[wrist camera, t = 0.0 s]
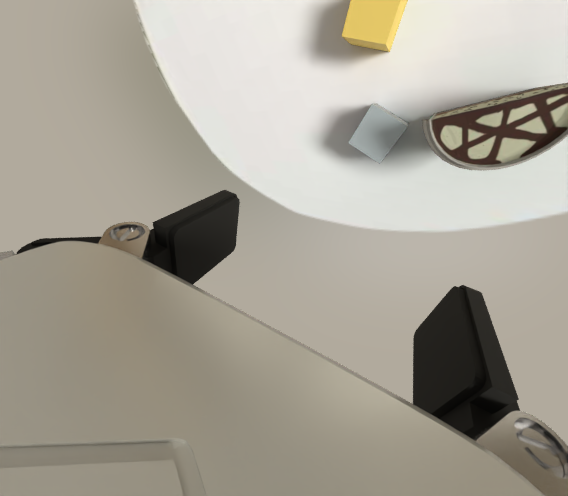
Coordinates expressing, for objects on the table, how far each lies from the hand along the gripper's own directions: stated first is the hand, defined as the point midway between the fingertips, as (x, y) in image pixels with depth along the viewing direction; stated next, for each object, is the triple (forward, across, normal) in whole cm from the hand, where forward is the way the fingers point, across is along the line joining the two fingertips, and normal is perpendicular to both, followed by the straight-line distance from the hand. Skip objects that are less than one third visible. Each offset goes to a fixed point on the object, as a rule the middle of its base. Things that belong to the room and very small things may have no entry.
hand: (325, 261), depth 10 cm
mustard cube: (+31, +7, -13) cm, 35 cm away
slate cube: (+31, +2, -2) cm, 31 cm away
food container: (+32, -9, -5) cm, 33 cm away
